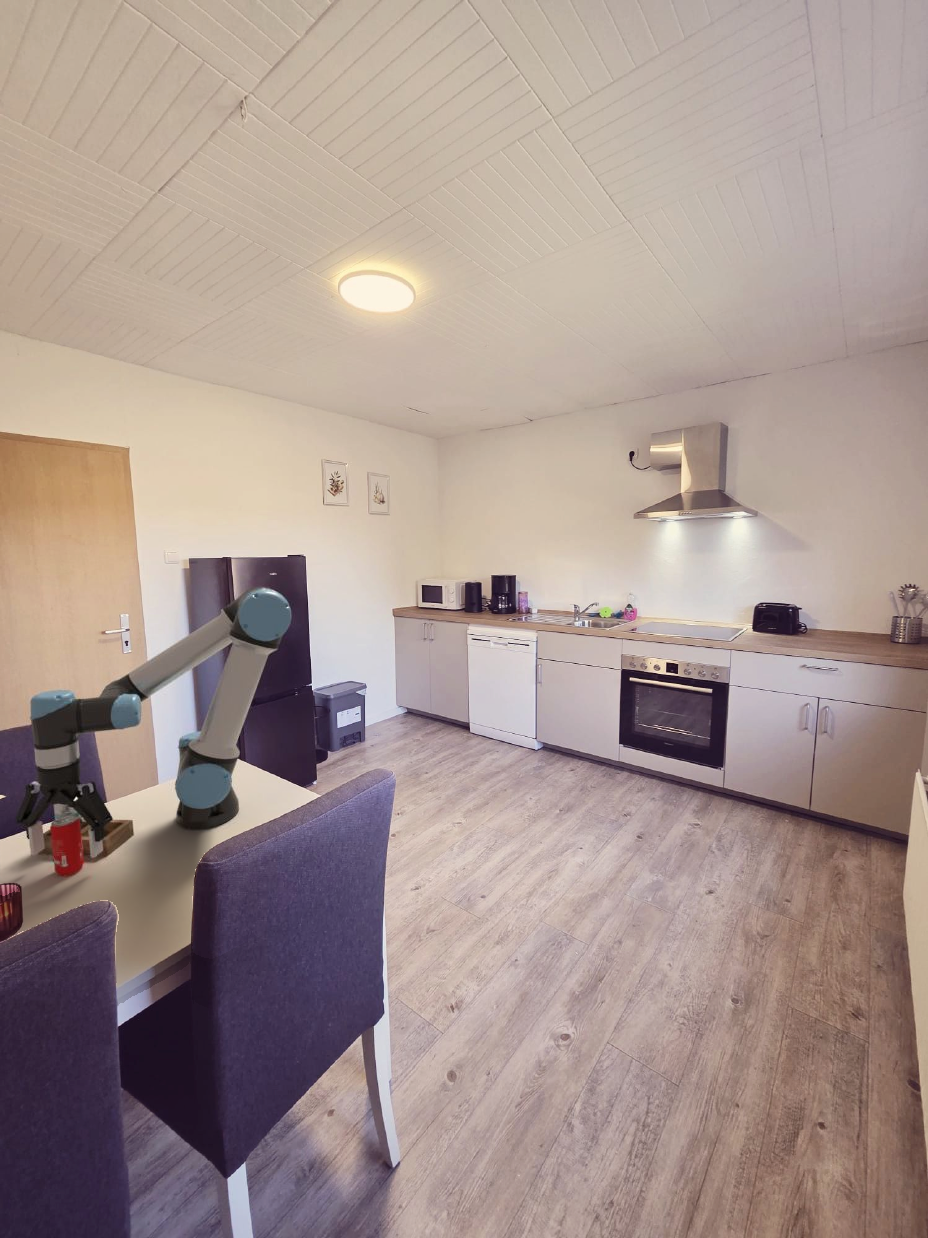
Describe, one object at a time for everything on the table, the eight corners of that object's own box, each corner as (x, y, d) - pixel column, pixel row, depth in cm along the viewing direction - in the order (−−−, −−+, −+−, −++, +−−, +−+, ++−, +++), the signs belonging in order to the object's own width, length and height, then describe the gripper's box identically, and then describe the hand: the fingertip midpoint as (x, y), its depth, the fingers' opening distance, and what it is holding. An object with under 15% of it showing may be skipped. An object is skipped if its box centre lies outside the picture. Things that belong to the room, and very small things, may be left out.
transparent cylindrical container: (89, 838, 127) (85, 792, 125) (73, 850, 122) (68, 802, 120) (69, 837, 127) (64, 792, 125) (52, 849, 122) (47, 802, 120)
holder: (133, 835, 128) (132, 820, 128) (107, 856, 120) (106, 840, 119) (68, 833, 129) (67, 818, 129) (37, 854, 120) (35, 838, 120)
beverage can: (53, 870, 114) (48, 820, 113) (82, 860, 118) (77, 811, 116) (57, 881, 111) (51, 829, 109) (86, 870, 114) (81, 820, 113)
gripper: (126, 756, 114) (133, 845, 117) (18, 753, 115) (28, 841, 118) (101, 771, 107) (109, 865, 109) (-14, 767, 108) (-3, 861, 110)
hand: (67, 853), depth 114 cm, fingers open, 13 cm apart
